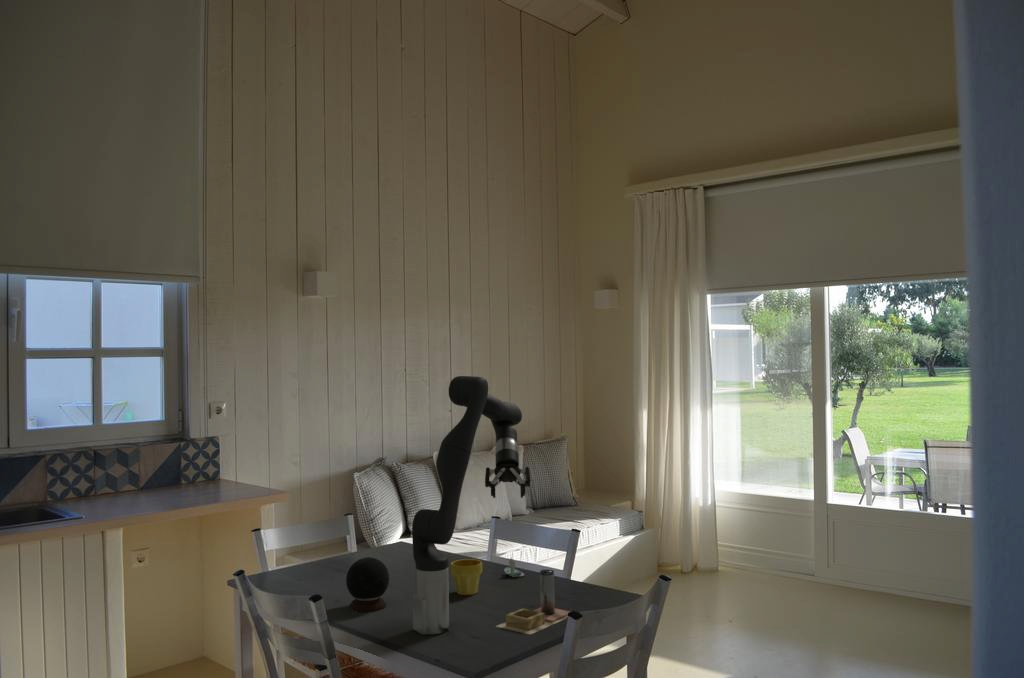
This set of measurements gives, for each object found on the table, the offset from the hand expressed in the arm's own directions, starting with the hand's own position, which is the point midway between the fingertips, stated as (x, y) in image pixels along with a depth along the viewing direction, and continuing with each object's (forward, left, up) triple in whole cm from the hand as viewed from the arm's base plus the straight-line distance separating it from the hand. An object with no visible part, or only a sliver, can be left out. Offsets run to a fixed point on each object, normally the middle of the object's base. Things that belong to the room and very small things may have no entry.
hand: (508, 496), depth 248 cm
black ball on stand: (-36, +24, -34) cm, 55 cm away
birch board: (-2, -19, -34) cm, 39 cm away
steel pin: (+3, -17, -32) cm, 36 cm away
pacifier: (+21, +31, -34) cm, 51 cm away
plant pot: (-3, +21, -34) cm, 40 cm away
